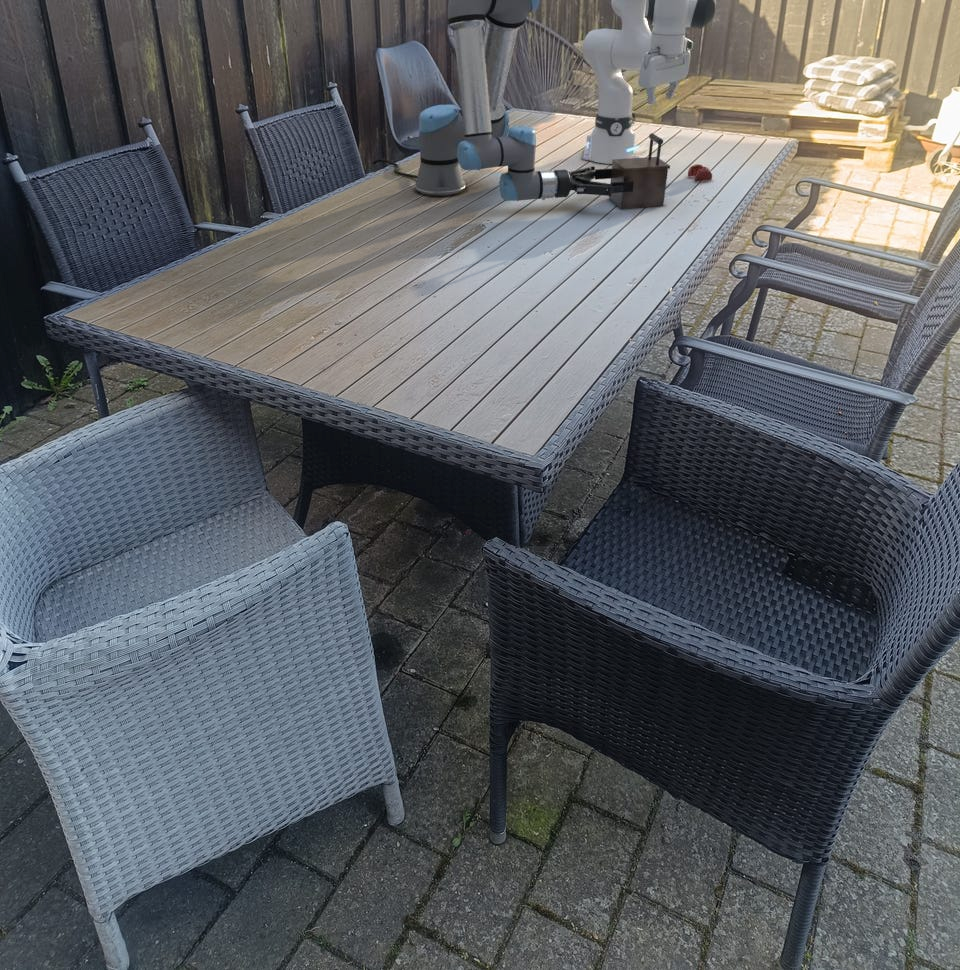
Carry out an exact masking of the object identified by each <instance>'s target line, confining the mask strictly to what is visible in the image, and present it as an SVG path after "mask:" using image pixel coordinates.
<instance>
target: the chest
mask: <svg viewBox="0 0 960 970" xmlns="http://www.w3.org/2000/svg"><path fill="white" fill-rule="evenodd" d="M611 168H612V171H611V179H610V183H609V184H611V183H612V182H627V181H633V182H634V185H633V192H620V193H612V195H611V197H608V200H610V201H611V202H612V203H613V204H614V205H616V206H617V207H618V208H619V209H620V210H625V209H639V208H654V207H663V206H664V203H665V196H666V190H667V189H666V188H667V181H668V172H669V169H657V170H641V171H625V172H624V171H623V170H622V169H621V168H619V167H618V166H617V165H615V164H614V163H613V162H612V164H611Z"/></svg>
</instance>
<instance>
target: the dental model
mask: <svg viewBox="0 0 960 970" xmlns="http://www.w3.org/2000/svg"><path fill="white" fill-rule="evenodd" d="M687 177H688V178H691V177H694V178H693V180H694V182H705V181H706V182H707V181H712V179H713V173H712V172H711V170H710V168H709V167H707V166H703V164H698V163H697V164H693V165H691V166H690V167H689V169H688V171H687Z"/></svg>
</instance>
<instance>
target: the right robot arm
mask: <svg viewBox="0 0 960 970" xmlns="http://www.w3.org/2000/svg"><path fill="white" fill-rule="evenodd" d="M716 1H717V0H611V1H610V4H611V5H610V6H611V8H612V11H613V12H614V13H615V14H616V15H617V16H618V17H619V18H620V20H621V29H613V28H597V29H592V30H590V31H589V32H588V33H587V34H586V35H585V36H584V39H583V42H582V47H581V48H582V49H581V50H582V51H581V52H582V57H583V59H584V61H585V62H586V63H587V64H588V65H589V66H590V68H591V69H592V71H593V73H594V76H595V80H596V83H597V90H598V94H597V96H598V99H597V100H598V101H597V113H596V114H595V119H594V120H595V121H594V125H595V126H594V128H593V130H592V132H591V133H590V135H589V134H588V135H586V144H587V145H586V146H584V152H583V155H582V160H585V161H591V162H595V163H599V164H604V165H605V164H607V165H612V160H613V159H627V158H639V155H638V154H637V153H635V150H637V149H639V148H640V146H639V145H636V146H635V139H636V137H635V136H636V133H635V132H634V131H633V129H632V128H631V127H632V125H633V124H632V123H634V122H635V121H636V119H637V118H636V117H637V116H636V113H632V108H633V100H634V99H633V98H634V90H633V87H632V86H631V84H630V83H629V82H627V81H626V80H625V78H624V77H623V74H622V70H623V71H631V72H637V71H639V73H638V79H637V80H638V81H637V84H638V87H639V88H642V89H643V88H644V89H645V91H646V95H647V100H646V101H647V102H646V103H647V104H648V105H654V104H656V102H657V96H655V91H656V89H657V88H656V87H659V86H662V85H666V84H669V86H668V89H667V90H666V91H665V98H666V99H669V100H672V99H674V98H675V93H676V90H677V88H678V85H679V81H681V80H685V79H686V78H687V76H688V74H689V70H690V66H691V65H690V64H691V57H692V55H691V54H692V52H691V51H692V50H693V47H694V42H693V41H692V40H690V39H689V38H687V37H686V28H690V29H700V30H701V29H703V28H704V27H706V26H707V25H709V23H710V22H711V21H713V19H714V16H715V13H716V6H717V2H716ZM649 25H651V26H653V27H652V30H651V28H650V27H649Z"/></svg>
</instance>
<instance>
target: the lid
mask: <svg viewBox="0 0 960 970" xmlns="http://www.w3.org/2000/svg"><path fill="white" fill-rule="evenodd" d="M648 139H649V149H648V156H646V157H645V156H643V157H638V158H627V159H613V160H612V162H613V163H614V164H615V165H617V166H618V167H619V168H621V169H622V170H623V171H624V172H625V171H641V170H657V169H668V170H670V169H671V165H670V164H668V163H667V162H666V161H664V160H662V159H661V152H662V151H661V150H662V145H663V143H664V139H662V138H661V137H659V136H658V135H656V134H655V133H652V132H651V133H649V135H648ZM654 143H656V144H657V151H656V156H653V146H654Z"/></svg>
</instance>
